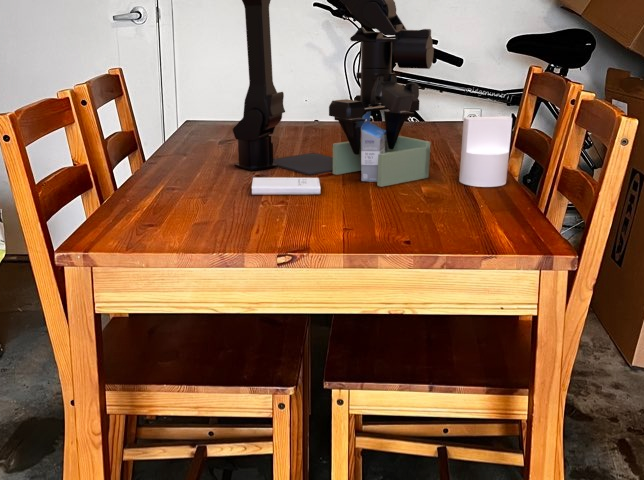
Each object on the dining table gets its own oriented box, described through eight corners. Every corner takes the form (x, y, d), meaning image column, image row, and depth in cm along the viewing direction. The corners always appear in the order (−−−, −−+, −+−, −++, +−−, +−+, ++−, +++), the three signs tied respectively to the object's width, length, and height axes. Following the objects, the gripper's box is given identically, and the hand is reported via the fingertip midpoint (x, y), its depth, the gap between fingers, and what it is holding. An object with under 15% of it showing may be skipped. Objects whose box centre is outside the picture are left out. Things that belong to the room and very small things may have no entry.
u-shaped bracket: (381, 186, 153) (382, 149, 151) (332, 173, 164) (332, 138, 161) (428, 177, 161) (430, 141, 158) (379, 165, 171) (380, 131, 168)
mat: (309, 175, 162) (309, 173, 162) (262, 162, 174) (262, 160, 174) (361, 166, 170) (361, 164, 170) (314, 154, 182) (314, 152, 182)
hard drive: (253, 185, 155) (318, 184, 155) (251, 195, 147) (320, 195, 148) (253, 176, 154) (318, 176, 154) (251, 186, 146) (320, 186, 147)
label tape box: (380, 182, 157) (382, 117, 152) (359, 181, 158) (361, 116, 152) (386, 172, 165) (389, 110, 160) (366, 171, 165) (368, 109, 160)
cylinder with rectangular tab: (496, 175, 162) (502, 113, 157) (513, 186, 154) (519, 121, 149) (453, 177, 161) (457, 114, 156) (467, 187, 153) (472, 122, 148)
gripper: (367, 73, 142) (365, 164, 148) (442, 67, 152) (437, 152, 159) (327, 69, 149) (326, 155, 156) (400, 63, 160) (397, 144, 166)
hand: (373, 151), depth 159 cm, fingers closed on label tape box, 9 cm apart
